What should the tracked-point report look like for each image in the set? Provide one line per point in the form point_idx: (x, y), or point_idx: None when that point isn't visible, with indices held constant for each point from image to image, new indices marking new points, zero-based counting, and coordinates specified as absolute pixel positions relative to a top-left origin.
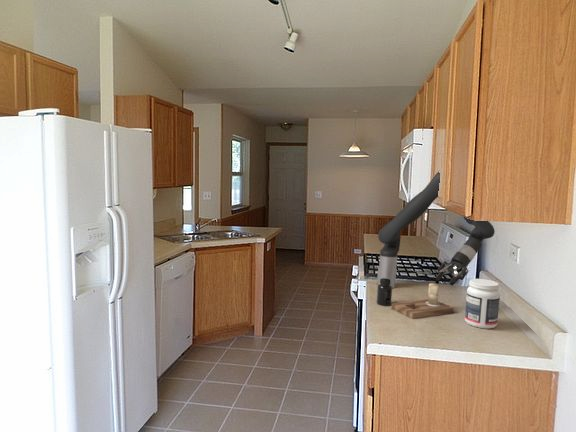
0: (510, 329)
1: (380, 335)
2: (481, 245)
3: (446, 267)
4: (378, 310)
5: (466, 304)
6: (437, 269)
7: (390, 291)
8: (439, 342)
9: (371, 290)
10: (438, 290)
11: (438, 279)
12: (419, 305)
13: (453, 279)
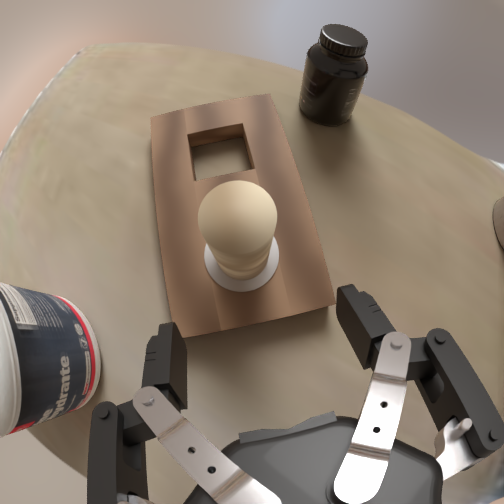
0: None
1: (101, 53)
2: None
3: (376, 411)
4: (255, 72)
5: (26, 291)
6: (442, 329)
7: (310, 73)
8: (23, 145)
9: (463, 151)
10: (211, 250)
11: (339, 312)
12: (230, 178)
13: (157, 365)
